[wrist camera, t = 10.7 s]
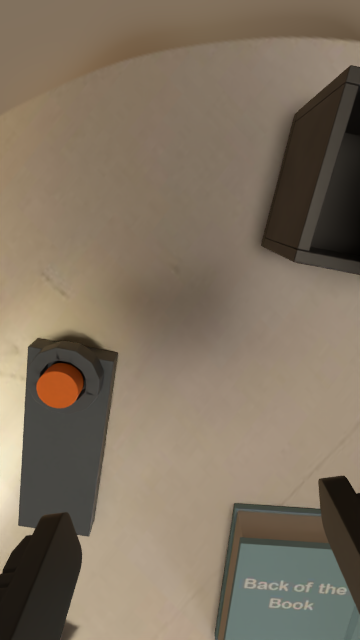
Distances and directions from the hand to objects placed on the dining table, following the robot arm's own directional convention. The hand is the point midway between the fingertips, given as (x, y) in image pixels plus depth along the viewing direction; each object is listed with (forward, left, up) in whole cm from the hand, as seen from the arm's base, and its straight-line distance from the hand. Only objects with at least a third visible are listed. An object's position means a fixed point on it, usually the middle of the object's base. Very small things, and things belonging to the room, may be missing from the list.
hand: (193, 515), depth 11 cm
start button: (-10, -7, -19) cm, 23 cm away
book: (+19, -32, -23) cm, 44 cm away
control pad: (-10, -16, -23) cm, 30 cm away
